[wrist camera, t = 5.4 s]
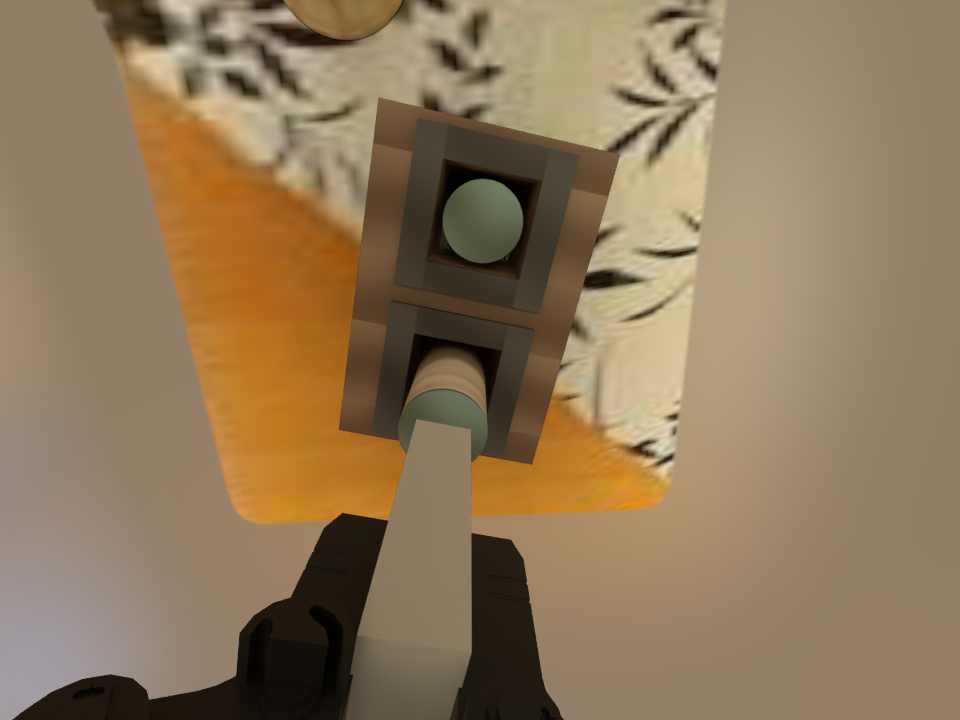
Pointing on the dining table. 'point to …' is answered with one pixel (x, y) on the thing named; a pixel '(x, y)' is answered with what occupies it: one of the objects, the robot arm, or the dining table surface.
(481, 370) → the peg
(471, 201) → the peg
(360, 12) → the hand bell
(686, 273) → the dining table surface
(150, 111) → the dining table surface
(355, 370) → the socket block
